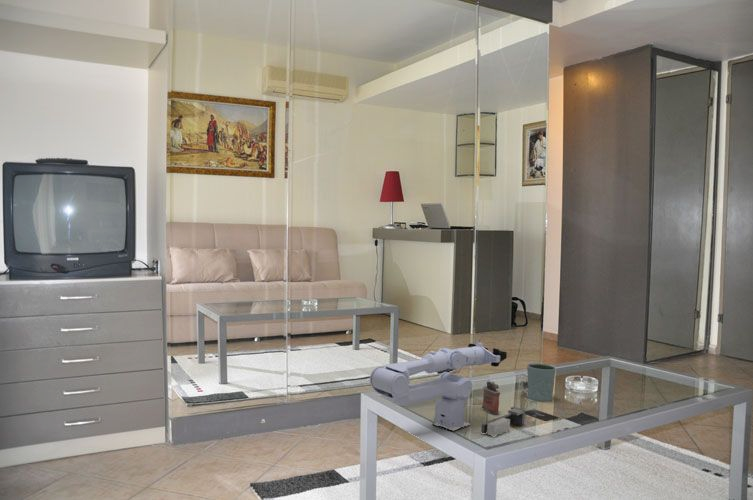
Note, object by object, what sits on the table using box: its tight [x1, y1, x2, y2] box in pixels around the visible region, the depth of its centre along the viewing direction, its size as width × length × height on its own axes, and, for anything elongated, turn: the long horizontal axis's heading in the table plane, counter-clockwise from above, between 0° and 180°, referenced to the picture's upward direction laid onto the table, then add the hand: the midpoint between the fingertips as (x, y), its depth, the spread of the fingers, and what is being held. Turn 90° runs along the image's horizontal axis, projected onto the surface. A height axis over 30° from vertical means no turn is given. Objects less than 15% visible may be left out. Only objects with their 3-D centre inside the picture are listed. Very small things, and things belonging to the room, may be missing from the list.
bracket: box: [480, 406, 526, 433], centre depth 187 cm, size 18×4×5 cm, turn 138°
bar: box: [486, 418, 511, 436], centre depth 183 cm, size 9×2×4 cm, turn 138°
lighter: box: [481, 380, 501, 416], centre depth 204 cm, size 8×3×10 cm, turn 21°
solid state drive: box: [525, 408, 559, 422], centre depth 203 cm, size 7×10×1 cm
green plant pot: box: [526, 362, 557, 403], centre depth 224 cm, size 10×10×12 cm
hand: (496, 353), depth 200 cm, fingers open, 7 cm apart
